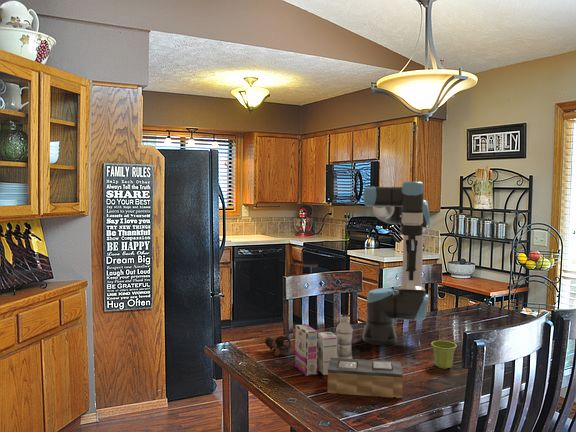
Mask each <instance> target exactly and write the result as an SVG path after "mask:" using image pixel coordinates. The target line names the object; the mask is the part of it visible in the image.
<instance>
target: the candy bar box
mask: <svg viewBox="0 0 576 432" xmlns="http://www.w3.org/2000/svg"><path fill="white" fill-rule="evenodd" d="M294 327H295V333H294V338H295V342H294V346H295V347H294V367H295V368H296V369H297V370H299V371H300V372H301V373H302V374H303V375H304V376H305V377H309V376H316V375H318V333H319V331H318V330H316V329H315V328H313V327H311V326H310V325H309V324H306V323H303V324H296V325H294Z"/></svg>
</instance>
